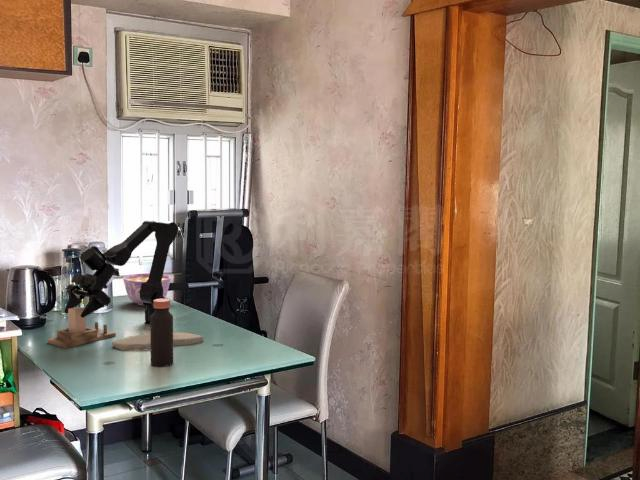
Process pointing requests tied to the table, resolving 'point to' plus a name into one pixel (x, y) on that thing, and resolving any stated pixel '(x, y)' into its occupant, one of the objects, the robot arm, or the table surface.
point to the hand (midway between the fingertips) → (73, 314)
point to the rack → (80, 336)
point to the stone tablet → (145, 341)
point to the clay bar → (76, 320)
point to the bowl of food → (135, 283)
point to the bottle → (161, 334)
